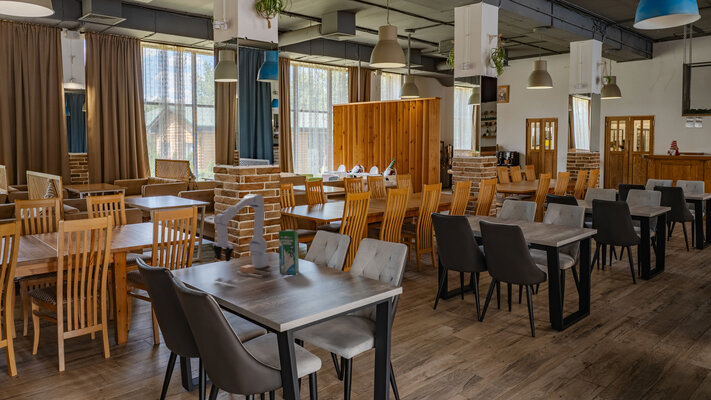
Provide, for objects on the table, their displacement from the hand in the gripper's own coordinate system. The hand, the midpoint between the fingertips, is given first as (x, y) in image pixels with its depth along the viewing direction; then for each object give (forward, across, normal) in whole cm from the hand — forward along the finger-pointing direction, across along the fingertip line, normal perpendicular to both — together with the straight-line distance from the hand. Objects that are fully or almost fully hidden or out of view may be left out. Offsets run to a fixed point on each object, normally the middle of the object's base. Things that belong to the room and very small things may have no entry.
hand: (223, 260), depth 295 cm
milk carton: (+10, +23, +27) cm, 37 cm away
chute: (+10, +13, +10) cm, 19 cm away
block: (+8, +8, +10) cm, 15 cm away
